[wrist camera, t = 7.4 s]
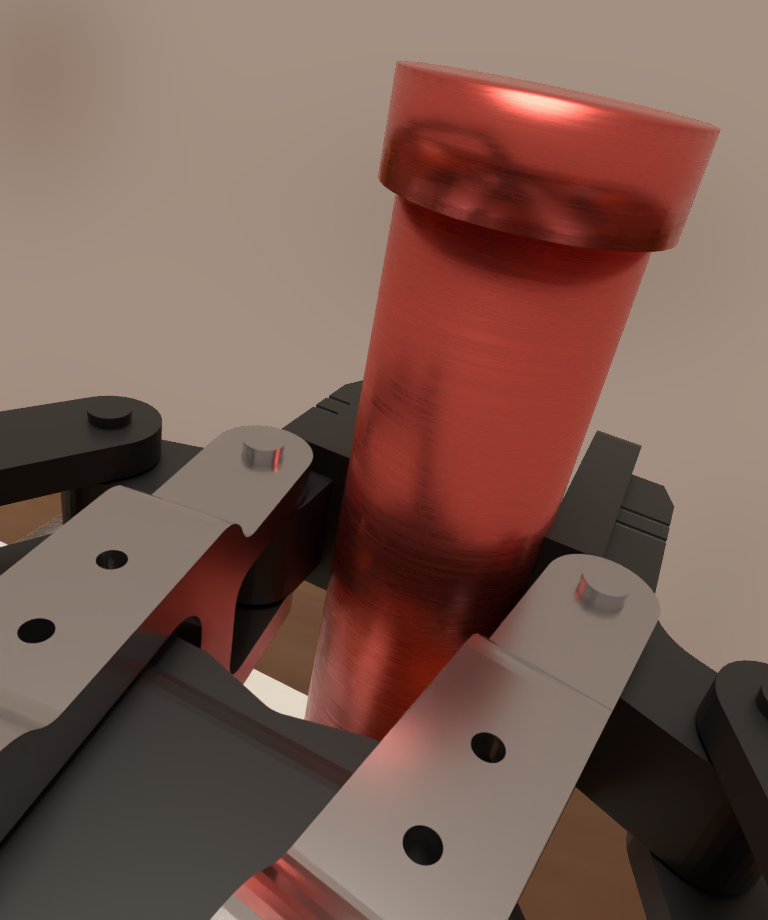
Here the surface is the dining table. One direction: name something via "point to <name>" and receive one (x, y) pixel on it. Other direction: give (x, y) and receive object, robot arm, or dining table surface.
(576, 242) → the lever
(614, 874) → the dining table surface
